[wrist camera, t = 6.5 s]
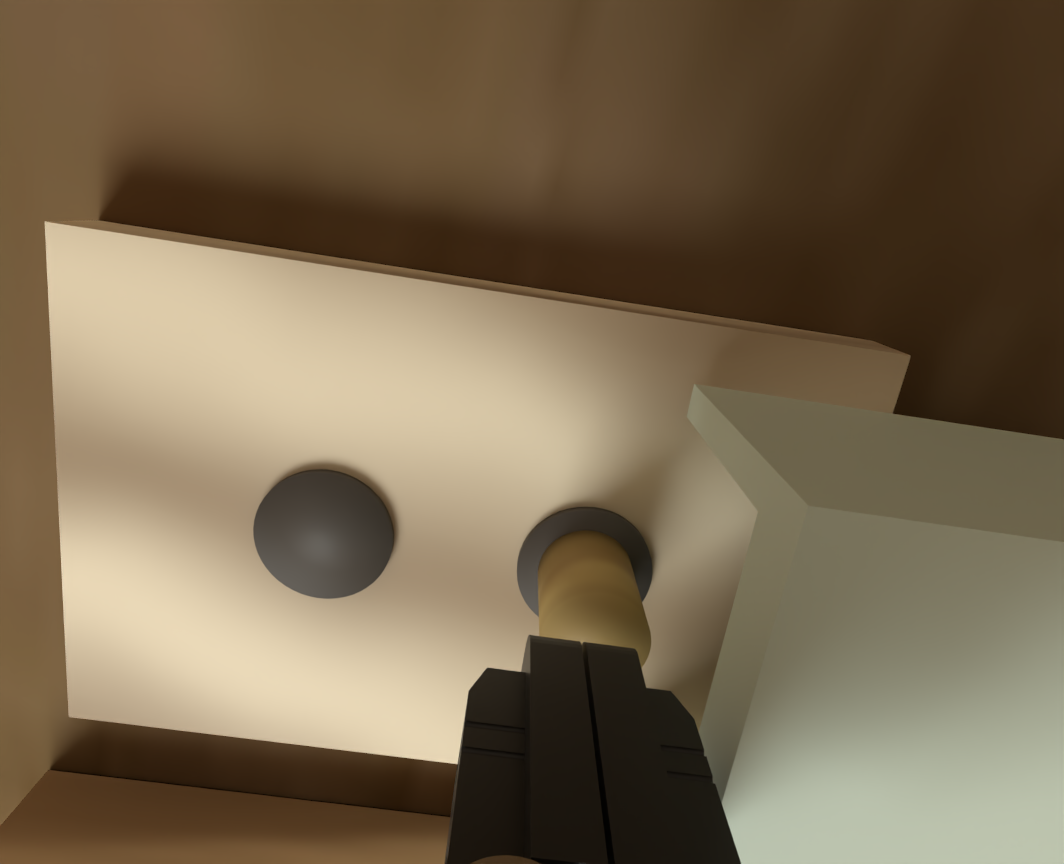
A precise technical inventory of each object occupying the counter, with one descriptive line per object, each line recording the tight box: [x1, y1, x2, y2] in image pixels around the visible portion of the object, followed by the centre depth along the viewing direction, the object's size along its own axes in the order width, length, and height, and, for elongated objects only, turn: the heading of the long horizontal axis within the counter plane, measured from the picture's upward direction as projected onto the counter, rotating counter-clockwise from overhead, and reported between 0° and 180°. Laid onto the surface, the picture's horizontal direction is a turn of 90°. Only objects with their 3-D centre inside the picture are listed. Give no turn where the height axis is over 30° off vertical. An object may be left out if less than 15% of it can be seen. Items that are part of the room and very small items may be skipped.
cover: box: [687, 384, 1064, 864], centre depth 11 cm, size 8×10×5 cm
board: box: [45, 220, 911, 764], centre depth 13 cm, size 10×15×4 cm, turn 81°
